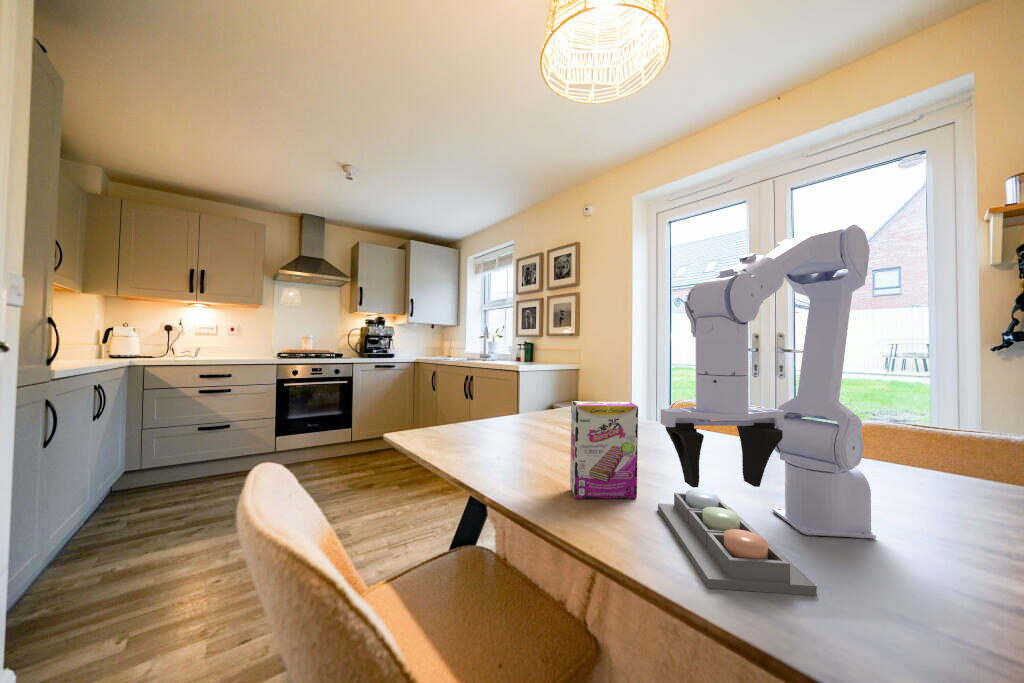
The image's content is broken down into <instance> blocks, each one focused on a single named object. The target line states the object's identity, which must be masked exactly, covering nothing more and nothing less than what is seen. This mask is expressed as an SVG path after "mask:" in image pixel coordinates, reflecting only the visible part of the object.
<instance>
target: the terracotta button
mask: <svg viewBox="0 0 1024 683" xmlns="http://www.w3.org/2000/svg"><path fill="white" fill-rule="evenodd" d="M761 536H762V535H761ZM761 536H759V535H757V534H755V533H752V532H749V531H745V530H739V529H730V530H726V531H725V532H724V548H725V550H726V551H727V552H728V553H729V554H730V555H731V557H732V558H745V559H762V560H768V542H767V541H768V540H767V539H766V538H764V536H762V537H761Z"/></svg>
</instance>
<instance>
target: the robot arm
mask: <svg viewBox="0 0 1024 683" xmlns="http://www.w3.org/2000/svg"><path fill="white" fill-rule="evenodd" d="M870 251H871V250H870V245H869V242H868V237H867V234H866V233H865V231H864V229H863V228H861V227H860V226H859V225H857V224H855V223H853V224H849V225H846V226H844V227H840V228H835V229H830V230H826V231H822V232H817V233H813V234H808V235H804V236H800V237H796V238H786V239H784V240H782V241H779V242H777V243H776V245H775V248H774V249H773V250H772V251H771V252H769V253H768V254H767V255H764V254H758V255H756V254H757V253H755V252H753V253H749V254H744V255H742V256H741V257H739V259H738V260H739V263H738V264H737V265H735V266H733V267H727V268H723V269H722V270H720V271H719V275H717V276H716V277H715V278H714V279H708V280H702V281H699V282H697V283H695V284H694V285H693V287H692V288H691V289H690V290H689V292H688V294H687V297H686V301H684V309H685V314H686V316H687V318H688V319H689V321H690V322H689V323H690V333H691V335H692V338H695V406H687V407H676V408H674V407H673V408H660V424H661V425H663V426H665V430H666V432H667V435H668V436H669V439H670V440H671V441H672V445H673V447H674V448H675V451H676V454H677V456H678V459H679V462H680V466H681V470H682V474H683V480H684V483H685V484H687V485H688V486H690V488H699V484H700V457H701V451H702V446H703V441H704V438H705V435H704V434H703V433H700V432H698V431H697V430H698V429H697V428H695V427H697V426H699V427H701V426H703V427H705V426H706V427H707V426H711V427H712V426H713V427H714V426H715V427H716V426H720V427H721V426H724V427H725V426H736V428H737V433H738V435H739V440H740V447H741V453H742V455H741V456H742V461H741V462H742V463H741V464H742V467H741V468H742V477H743V481H744V482H745V483H747V484H749V485H751V486H752V487H754V488H760V486H761V483H762V480H763V476H764V473H765V470H766V467H767V465H768V462H769V460H770V458H771V457H772V454H773V452H774V451H775V452H776V453H777V454H778V455H779V460H781V461H784V507H773V508H772V509H771V510H772V512H773V513H774V514H776V515H777V516H778V517H780V518H781V519H782V520H783V521H784V522H787V523H788V524H789V525H790V526H792V527H793V528H795V529H796V530H797V531H798V532H799V533H801V534H802V535H803V534H804V535H807V536H820V537H821V536H825V537H839V538H840V537H845V538H846V537H847V538H863V539H876V538H877V535H876V533H873V532H872V492H871V486H870V484H869V481H868V478H867V477H866V476H865V474H864V473H863V472H862V471H860V469H858V468H856V467H857V466H859V465H860V463H861V461H862V458H863V456H864V448H865V446H864V445H865V444H864V439H863V423H862V420H861V419H860V417H859V415H857V414H856V413H855V412H854V411H852V410H851V409H849V408H848V407H847V406H846V405H845V404H843V403H842V402H841V401H840V396H841V395H840V394H841V389H842V388H841V386H842V378H843V370H844V362H845V354H846V353H845V352H846V346H847V339H848V338H847V336H848V329H849V319H850V313H851V306H852V298H853V293H854V292H855V291H857V290H859V289H860V288H862V287H863V286H865V284H866V278H867V276H868V268H869V260H870ZM785 280H786V281H787V283H788V284H789V285H790V287H791V288H792V289H793V291H794V292H795V293H796V294H799V295H802V296H805V297H807V298H808V299H809V305H808V307H809V308H808V311H807V312H808V314H807V320H806V329H805V335H804V341H803V342H804V343H803V350H802V351H803V352H802V357H801V365H800V373H799V380H798V386H797V395H796V396H794V397H792V398H791V399H789V400H787V401H785V402H783V403H782V404H780V405H779V406H778V408H777V409H776V408H769V407H768V408H763V407H761V408H759V407H749V322H751V321H754V320H755V319H756V318H757V316H758V313H759V312H760V308H761V305H762V304H763V303H764V301H765V300H766V299H768V298H769V297H770V296H772V295H774V294H775V293H776V292H778V291H779V289H781V287H782V286H783V284H784V282H785ZM808 418H809V419H808ZM815 419H818V420H815ZM821 420H825V421H821ZM827 421H831V422H827ZM835 422H836V423H835Z"/></svg>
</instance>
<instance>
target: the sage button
mask: <svg viewBox="0 0 1024 683" xmlns="http://www.w3.org/2000/svg"><path fill="white" fill-rule="evenodd" d="M733 511H734V510H733ZM733 511H731V510H728V509H724V508H719V507H706V508H704V509H703V524H704V525H705V526H706V527H707V528H708V530H730V529H739V530H740V517H741V515H739V513H737V512H736V511H735V512H736V513H735V512H733Z"/></svg>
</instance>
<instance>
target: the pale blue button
mask: <svg viewBox="0 0 1024 683" xmlns="http://www.w3.org/2000/svg"><path fill="white" fill-rule="evenodd" d="M685 493H686V504H687V505H688V506H689V507H690V508H700V509H704V508H706V507H718V498H719V496H718V495H717V494H715V493H714V492H712V491H708V490H704V489H688V490H686V492H685Z"/></svg>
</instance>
